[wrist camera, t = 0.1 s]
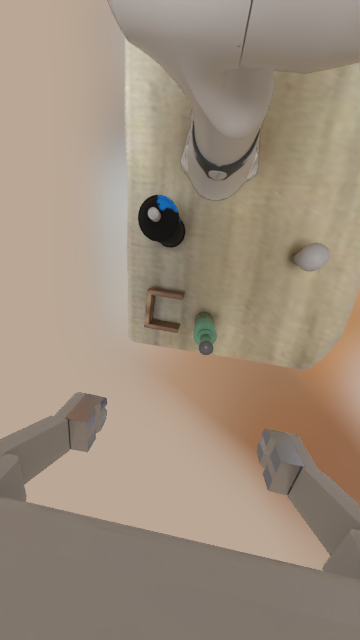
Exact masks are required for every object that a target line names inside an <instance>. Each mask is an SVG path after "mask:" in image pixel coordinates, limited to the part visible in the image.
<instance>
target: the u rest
mask: <svg viewBox="0 0 360 640" xmlns="http://www.w3.org/2000/svg"><path fill="white" fill-rule="evenodd" d="M155 295H156V296H162V297H168V298H174V299H180V300H183V298H184V293H182V292H176V291H170V290H164V289H158V288H150V289H148V291H147V302H146V313H145V324H144V327H146V328H152V329H158V330H163V331H169V332H175V333H177V332H178V329H179V325H180V324H177V323H172V322H166V321H160V320H154V319H153V310H154V301H155Z"/></svg>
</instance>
